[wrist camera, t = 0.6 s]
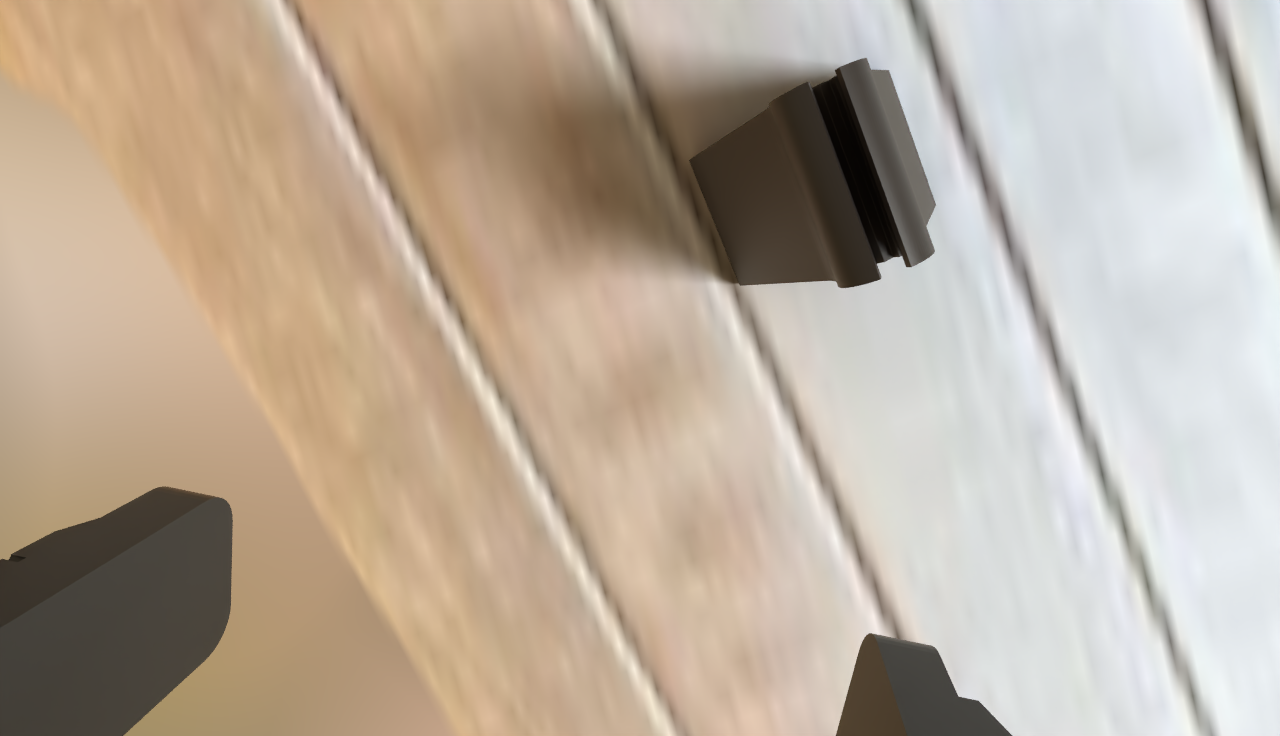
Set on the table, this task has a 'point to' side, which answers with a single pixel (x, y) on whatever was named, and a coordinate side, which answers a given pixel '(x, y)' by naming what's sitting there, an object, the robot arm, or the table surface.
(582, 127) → the table surface
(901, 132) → the phone stand
